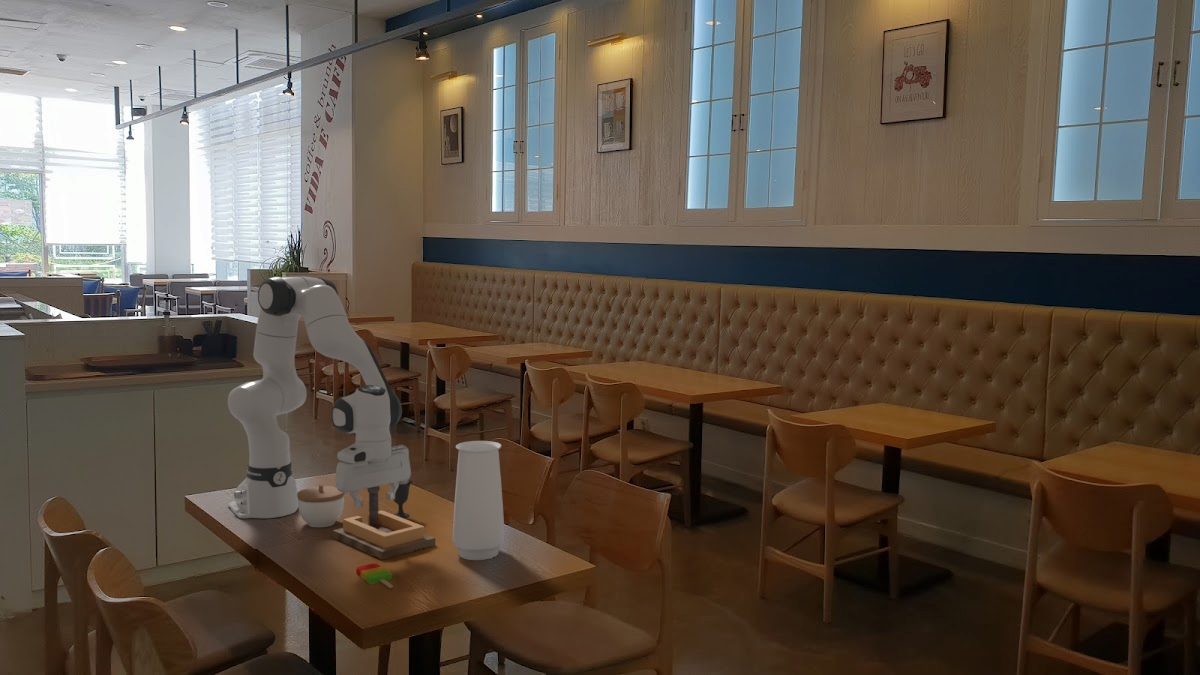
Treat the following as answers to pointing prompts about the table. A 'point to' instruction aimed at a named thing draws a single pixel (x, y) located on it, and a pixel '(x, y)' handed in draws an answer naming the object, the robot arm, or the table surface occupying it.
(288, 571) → the table surface
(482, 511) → the vase
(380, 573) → the popsicle
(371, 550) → the stand
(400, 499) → the sundae
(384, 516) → the link
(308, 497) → the lidded bowl
